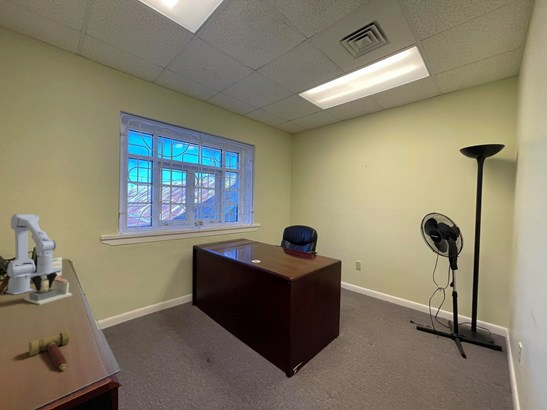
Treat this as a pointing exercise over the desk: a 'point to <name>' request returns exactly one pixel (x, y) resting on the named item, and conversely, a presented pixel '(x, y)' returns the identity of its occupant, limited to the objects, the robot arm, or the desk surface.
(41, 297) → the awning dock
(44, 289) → the maple peg
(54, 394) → the desk surface
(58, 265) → the ink cartridge box
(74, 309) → the desk surface
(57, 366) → the gavel
